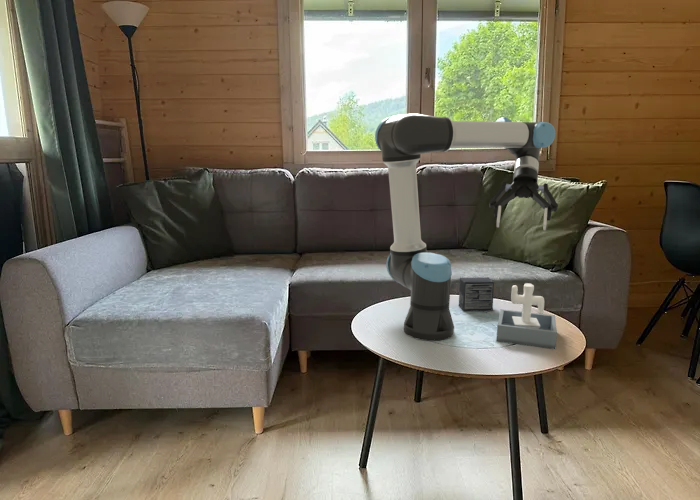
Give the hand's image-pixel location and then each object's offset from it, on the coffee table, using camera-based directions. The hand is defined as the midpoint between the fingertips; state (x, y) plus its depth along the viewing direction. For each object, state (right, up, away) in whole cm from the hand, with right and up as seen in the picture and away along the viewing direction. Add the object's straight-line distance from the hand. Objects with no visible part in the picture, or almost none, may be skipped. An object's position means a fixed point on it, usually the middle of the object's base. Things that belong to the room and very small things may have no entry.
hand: (520, 226), depth 153 cm
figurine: (0, -32, -3) cm, 32 cm away
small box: (-8, -28, +22) cm, 37 cm away
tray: (+1, -33, -3) cm, 33 cm away
